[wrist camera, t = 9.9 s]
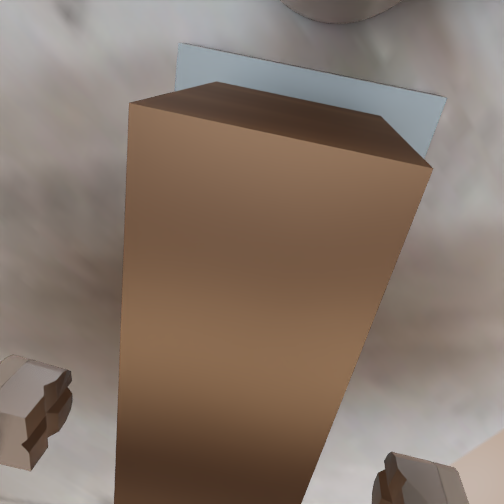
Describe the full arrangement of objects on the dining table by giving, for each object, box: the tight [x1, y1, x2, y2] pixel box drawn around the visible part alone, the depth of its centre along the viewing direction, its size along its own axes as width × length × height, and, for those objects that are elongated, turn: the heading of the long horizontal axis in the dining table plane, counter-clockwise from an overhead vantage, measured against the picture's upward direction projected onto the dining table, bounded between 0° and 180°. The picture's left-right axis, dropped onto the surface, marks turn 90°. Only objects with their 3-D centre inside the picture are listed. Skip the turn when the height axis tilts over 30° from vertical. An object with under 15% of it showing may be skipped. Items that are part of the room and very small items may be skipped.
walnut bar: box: [114, 81, 433, 504], centre depth 11 cm, size 15×4×5 cm, turn 169°
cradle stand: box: [175, 43, 447, 159], centre depth 16 cm, size 16×10×7 cm, turn 169°
